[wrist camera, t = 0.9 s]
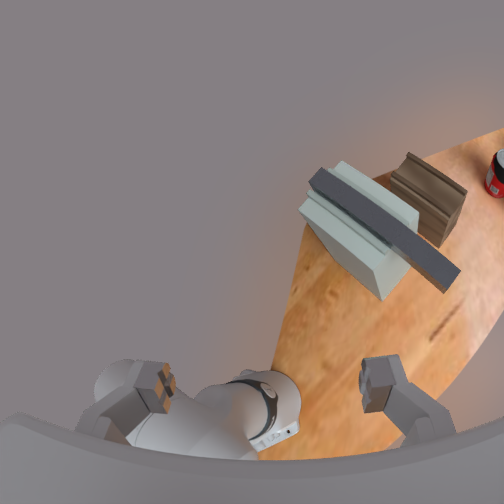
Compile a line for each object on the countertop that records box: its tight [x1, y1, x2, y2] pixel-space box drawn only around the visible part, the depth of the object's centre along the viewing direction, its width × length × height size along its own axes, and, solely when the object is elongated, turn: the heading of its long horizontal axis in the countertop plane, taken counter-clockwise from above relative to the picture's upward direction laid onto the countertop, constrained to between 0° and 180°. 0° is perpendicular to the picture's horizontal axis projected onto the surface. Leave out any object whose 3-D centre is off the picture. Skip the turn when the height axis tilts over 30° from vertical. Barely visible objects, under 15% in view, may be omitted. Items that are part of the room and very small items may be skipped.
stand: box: [298, 161, 419, 302], centre depth 50 cm, size 10×14×27 cm
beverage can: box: [485, 149, 504, 198], centre depth 47 cm, size 6×6×12 cm
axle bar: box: [309, 167, 461, 294], centre depth 36 cm, size 3×23×3 cm, turn 42°
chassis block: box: [390, 152, 468, 248], centre depth 52 cm, size 7×13×16 cm, turn 42°
